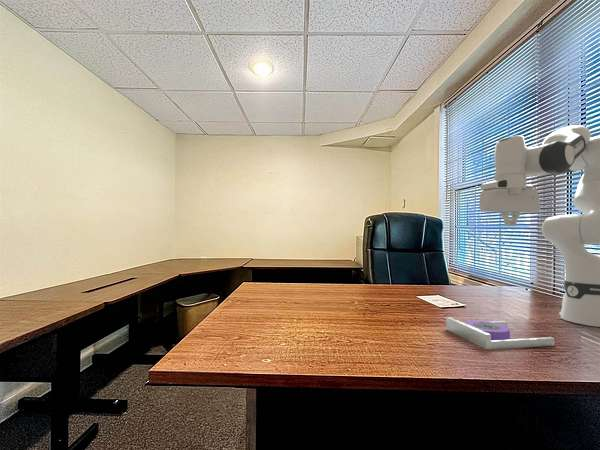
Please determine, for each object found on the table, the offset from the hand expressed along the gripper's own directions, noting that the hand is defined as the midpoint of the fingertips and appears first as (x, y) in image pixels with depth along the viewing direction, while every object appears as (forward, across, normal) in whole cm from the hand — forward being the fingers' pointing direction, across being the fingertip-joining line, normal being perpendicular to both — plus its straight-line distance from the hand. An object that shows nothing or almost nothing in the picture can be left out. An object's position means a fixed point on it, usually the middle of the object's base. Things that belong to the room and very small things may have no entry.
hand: (510, 226), depth 101 cm
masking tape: (+35, +14, +6) cm, 38 cm away
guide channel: (+34, +10, +6) cm, 36 cm away
